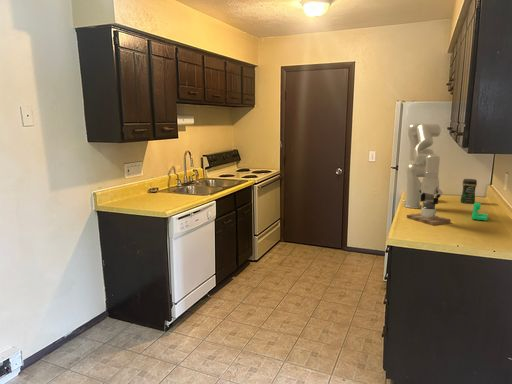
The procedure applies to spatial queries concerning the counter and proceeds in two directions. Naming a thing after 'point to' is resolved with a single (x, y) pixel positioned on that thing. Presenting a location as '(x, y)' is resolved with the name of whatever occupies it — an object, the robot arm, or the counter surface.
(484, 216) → the camera mount
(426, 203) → the grey sphere
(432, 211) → the pipe flange plate
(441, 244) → the counter surface
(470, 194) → the coffee jar
